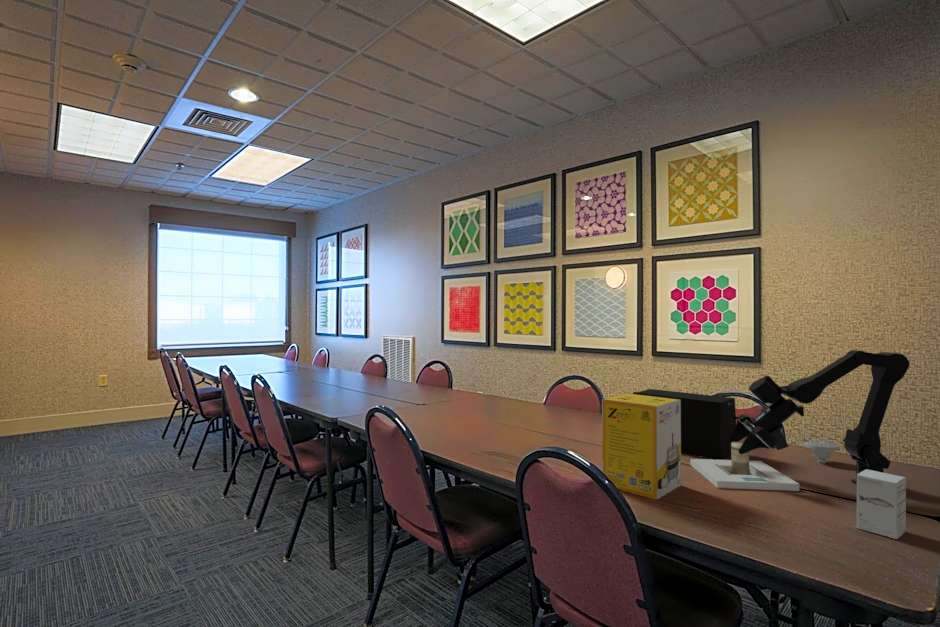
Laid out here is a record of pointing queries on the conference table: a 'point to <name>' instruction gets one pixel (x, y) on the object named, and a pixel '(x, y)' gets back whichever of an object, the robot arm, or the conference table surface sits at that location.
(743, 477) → the hole plate
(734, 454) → the beech peg
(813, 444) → the showerhead
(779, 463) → the conference table surface
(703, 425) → the uninterruptible power supply
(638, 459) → the packaging box
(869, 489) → the supplement box
